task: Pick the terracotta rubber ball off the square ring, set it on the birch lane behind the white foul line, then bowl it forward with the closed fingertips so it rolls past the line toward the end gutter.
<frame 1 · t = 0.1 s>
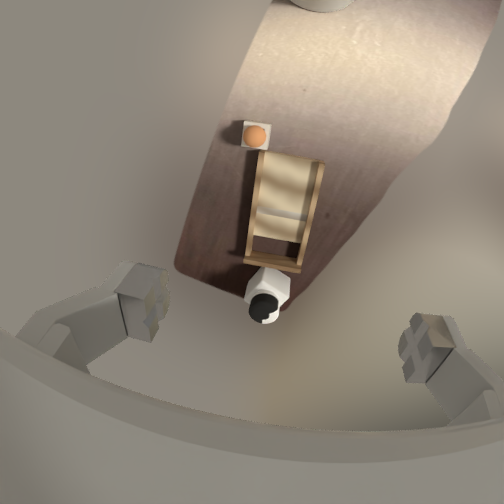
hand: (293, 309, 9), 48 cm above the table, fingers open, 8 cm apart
square ring: (257, 133, 51), on the table
lane: (282, 207, 58), on the table
ball: (254, 136, 48), point 4 cm above the table, touching square ring
medicine bottle: (269, 279, 68), on the table
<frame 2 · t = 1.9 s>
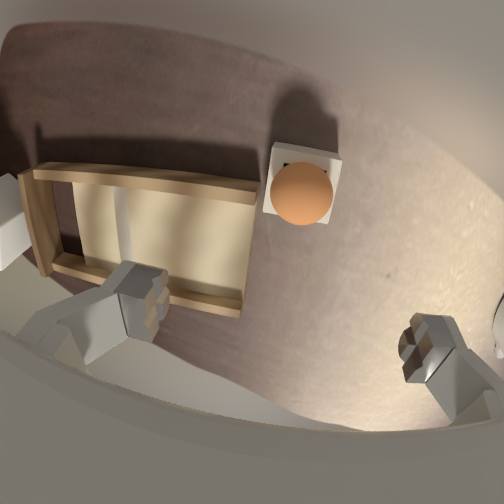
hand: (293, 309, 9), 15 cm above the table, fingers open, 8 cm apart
square ring: (301, 176, 21), on the table
lane: (136, 227, 26), on the table
ball: (301, 193, 18), point 4 cm above the table, touching square ring
medicine bottle: (22, 206, 28), on the table
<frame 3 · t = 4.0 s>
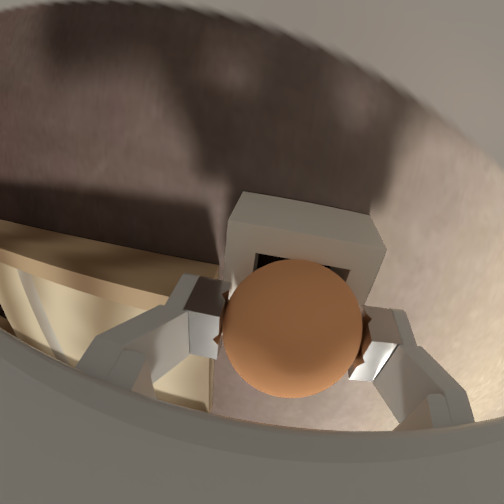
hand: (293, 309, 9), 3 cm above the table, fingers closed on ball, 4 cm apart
square ring: (295, 257, 11), on the table
lane: (57, 307, 16), on the table
ball: (292, 329, 8), point 4 cm above the table, touching gripper, square ring
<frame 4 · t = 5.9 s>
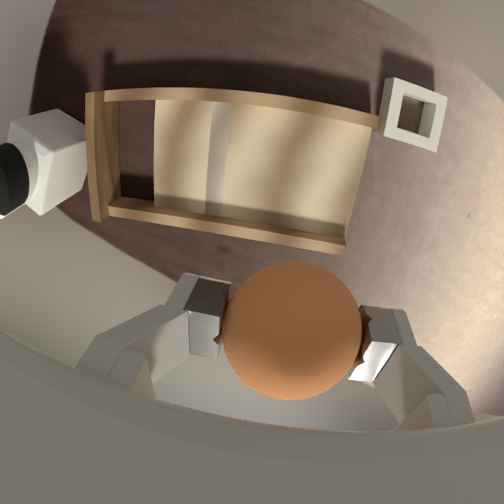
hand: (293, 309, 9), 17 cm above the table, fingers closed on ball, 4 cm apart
square ring: (406, 112, 19), on the table
lane: (229, 158, 24), on the table
ball: (292, 331, 8), point 18 cm above the table, touching gripper
medicine bottle: (70, 148, 26), on the table
when the fingers open (3 cm above the table, at t = 8.2 s): ball stays where it is, resting on lane.
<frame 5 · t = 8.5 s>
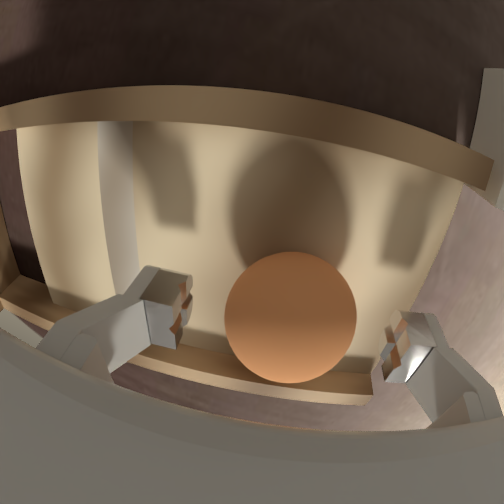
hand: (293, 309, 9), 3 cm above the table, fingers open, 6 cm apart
lane: (150, 233, 12), on the table
ball: (290, 317, 9), point 3 cm above the table, touching lane
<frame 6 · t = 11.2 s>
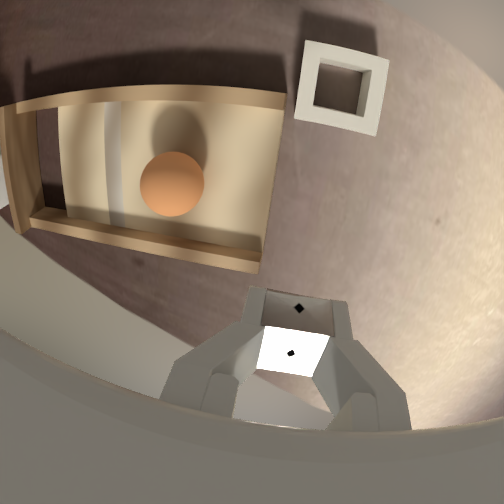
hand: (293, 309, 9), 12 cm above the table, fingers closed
square ring: (337, 87, 15), on the table
lane: (129, 162, 20), on the table
ball: (171, 183, 17), point 3 cm above the table, tilted 29°, touching lane
medicine bottle: (4, 158, 22), on the table
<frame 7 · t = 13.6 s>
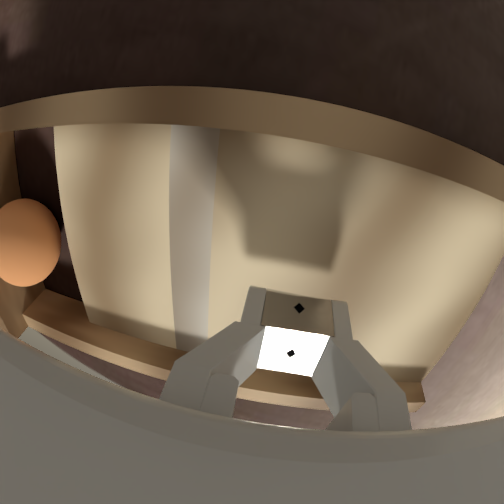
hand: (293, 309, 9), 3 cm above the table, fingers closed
lane: (218, 251, 11), on the table
ball: (23, 242, 10), point 2 cm above the table, tilted 97°
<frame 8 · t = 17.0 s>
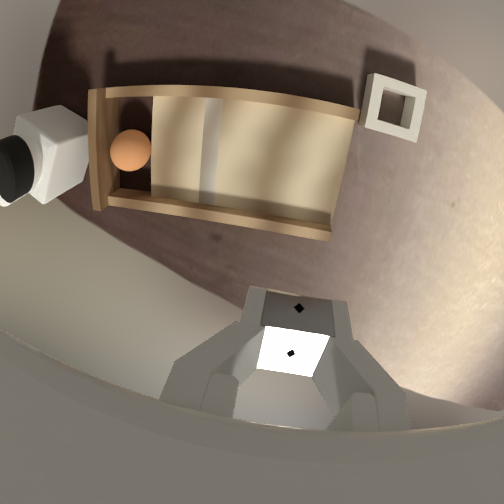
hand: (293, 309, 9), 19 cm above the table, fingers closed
square ring: (388, 106, 21), on the table
lane: (221, 150, 26), on the table
ball: (130, 150, 24), point 2 cm above the table, tilted 80°
medicine bottle: (72, 142, 27), on the table
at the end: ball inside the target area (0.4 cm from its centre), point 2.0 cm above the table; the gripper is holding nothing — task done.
